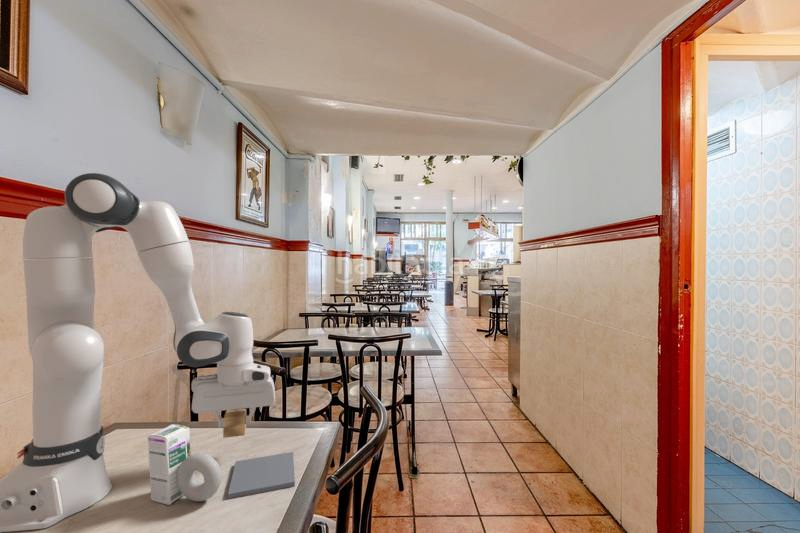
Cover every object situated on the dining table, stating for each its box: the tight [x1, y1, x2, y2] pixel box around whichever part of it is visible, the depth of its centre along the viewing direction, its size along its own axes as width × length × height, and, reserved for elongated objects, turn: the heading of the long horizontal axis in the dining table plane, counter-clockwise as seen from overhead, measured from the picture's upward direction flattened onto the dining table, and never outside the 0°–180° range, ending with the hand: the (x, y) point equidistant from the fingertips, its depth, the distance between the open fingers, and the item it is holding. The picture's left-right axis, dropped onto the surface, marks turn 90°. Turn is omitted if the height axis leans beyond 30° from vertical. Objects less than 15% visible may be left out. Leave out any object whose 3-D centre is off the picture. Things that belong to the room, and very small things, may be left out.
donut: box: [177, 452, 223, 502], centre depth 80 cm, size 10×4×10 cm, turn 81°
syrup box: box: [147, 423, 192, 506], centre depth 81 cm, size 6×6×14 cm
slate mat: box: [227, 451, 296, 499], centre depth 89 cm, size 14×14×1 cm
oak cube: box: [222, 408, 247, 439], centre depth 98 cm, size 5×5×5 cm
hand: (235, 424), depth 98 cm, fingers closed on oak cube, 5 cm apart
